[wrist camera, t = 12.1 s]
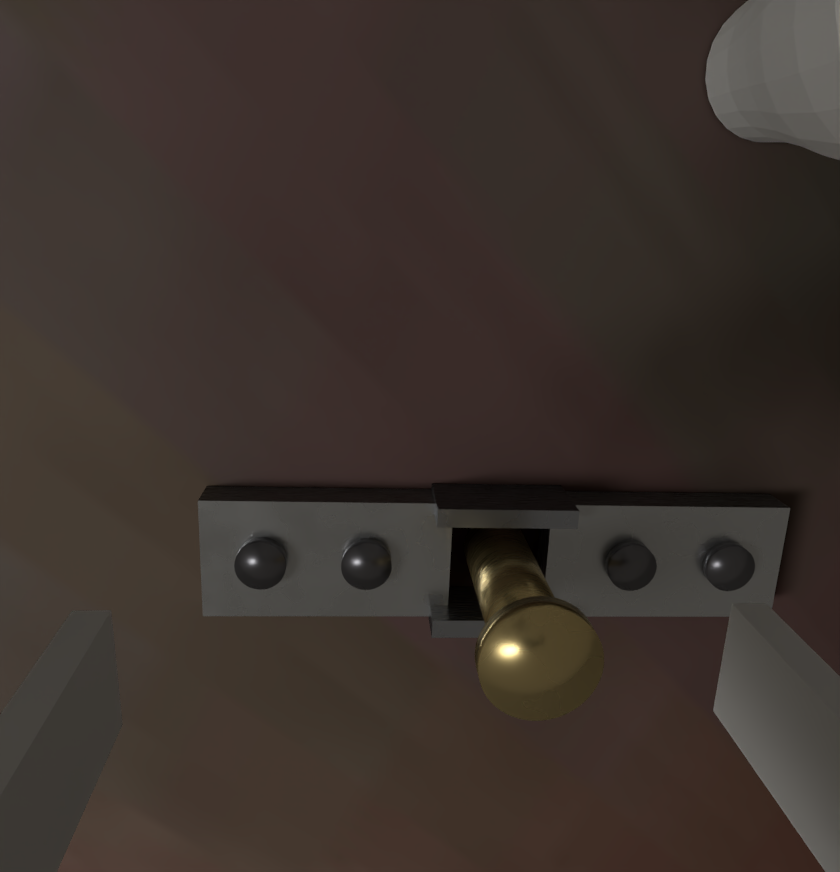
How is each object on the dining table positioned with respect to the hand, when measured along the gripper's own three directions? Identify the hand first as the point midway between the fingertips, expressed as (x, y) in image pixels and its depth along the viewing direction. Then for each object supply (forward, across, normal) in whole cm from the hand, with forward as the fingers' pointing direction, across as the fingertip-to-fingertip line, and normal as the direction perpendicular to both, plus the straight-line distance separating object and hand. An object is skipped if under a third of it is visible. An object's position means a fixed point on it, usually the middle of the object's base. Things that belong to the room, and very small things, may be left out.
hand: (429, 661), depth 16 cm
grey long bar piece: (+21, +6, -8) cm, 23 cm away
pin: (+21, +6, -8) cm, 23 cm away
